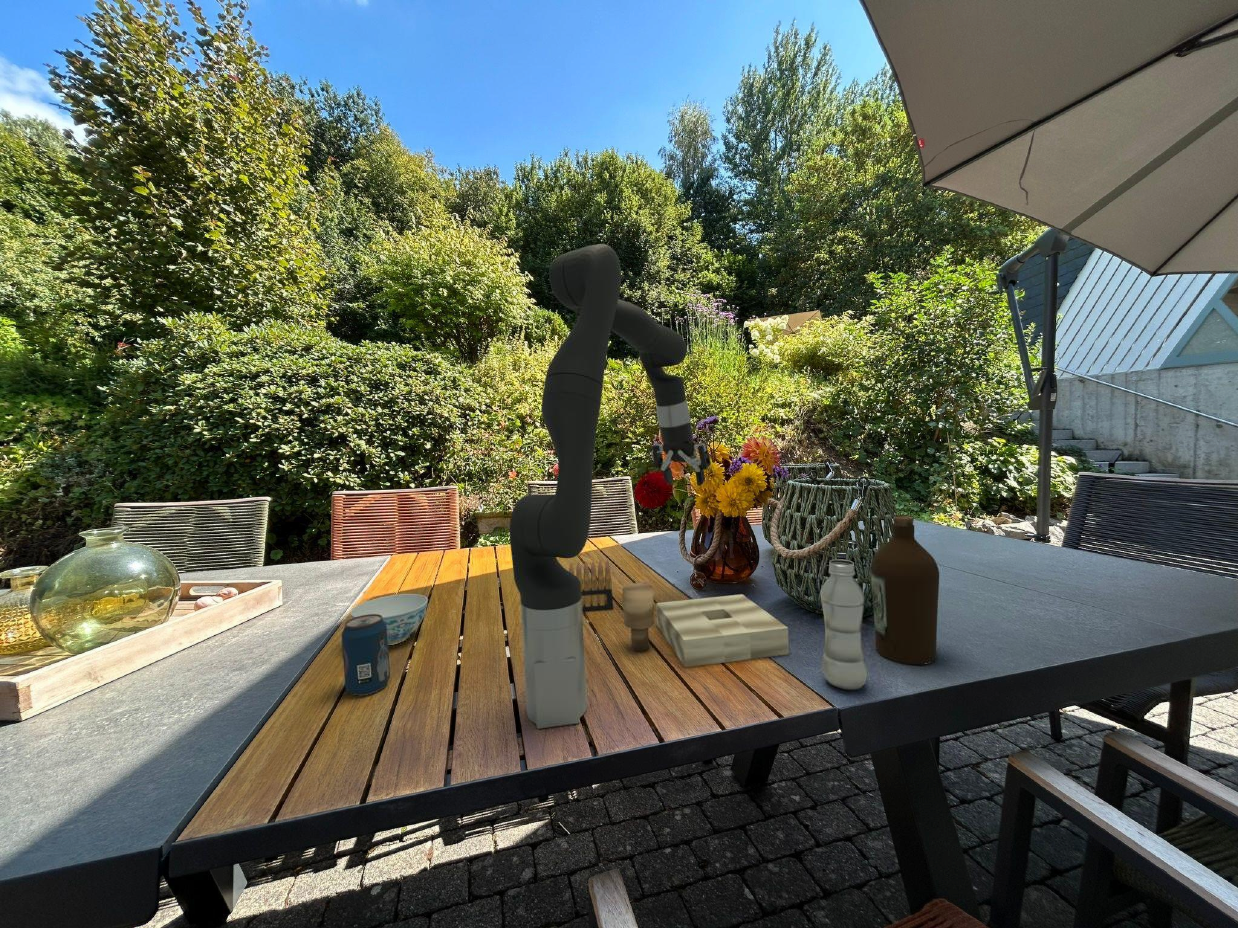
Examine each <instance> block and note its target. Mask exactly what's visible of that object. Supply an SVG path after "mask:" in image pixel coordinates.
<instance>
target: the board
mask: <svg viewBox="0 0 1238 928" xmlns="http://www.w3.org/2000/svg"><path fill="white" fill-rule="evenodd" d="M656 623H657V624H656V625H657V627H658V628H659V630H660V632H661V633H662V635H663V636H664V638H665V639H666V641H667V643H669V646H670V647H671V648H672V651H673V652H674V653H675V655H676V656H677V658H678V659H679V661H680V662H681V664H682V665H683V666H684V668H691V667H699V666H708V665H716V664H722V663H723V664H724V663H731V662H739V661H747V660H754V659H763V658H770V657H777V656H779V655H780V656H787V655H789V653H790V651H789V649H790V648H789V628H788V627H787V626H786V625H785V624H783V623H782V622H781V621H779V620H778V619H776V618H775V617H774V616H773V615H771V614H769V612H767V611H766V610H764V609H763V608H762V607H760V606H759V605H758V604H757V603H755V602H753V600H751V599H750V598H749V597H746V596H745V595H744V594H733V595H724V596H712V597H702V598H694V599H684V600H674V601H666V602H665V601H663V602H656Z"/></svg>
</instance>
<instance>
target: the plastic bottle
mask: <svg viewBox="0 0 1238 928" xmlns="http://www.w3.org/2000/svg"><path fill="white" fill-rule="evenodd" d="M828 564H829V567H828V574H830V575H829V577H828V578H827V580H826V581H825V582H824V584H823V585H822V586H821V589H820V600H821V607H822V612H823V619H824V630H825V631H824V632H825V635H824V636H825V637H824V652H823V655H822V663H821V667H822V672H823V675H824V678H825V679H826V681H827V682H828V683H829V684H830V685H832V686H833V687H836V688H838V689H842V690H851V691H853V690H854V691H855V690H860V689H861V688H863V686H864V685H865V684H866V680H867V675H868V672H867V666H866V664H867V663H866V661H865V657H864V649H863V641H862V628H863V626H862V625H863V617H864V610H865V609H864V607H865V594H864V591H863V589H862V588H861V586H860V584H859V582H857V581H856V579H855V578H854V576H856V571H855V563H854V562H853V561H851V560H848V559H847V560H846V559H831V560H829V563H828Z"/></svg>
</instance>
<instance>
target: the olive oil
mask: <svg viewBox="0 0 1238 928" xmlns="http://www.w3.org/2000/svg"><path fill="white" fill-rule="evenodd" d="M914 519H915V518H914V517H912V516H908V515H896V516H893V518H892V520H893V521H892V522H893V523H892V536H891V538H890V540H889V541H887V542H886V543H885V544H884V545H883V546H882V547H881V548H879V550H877V551H876V553H875V554H874V556H873V557H872V560H871V564H870V579H871V590H872V591H871V592H872V593H871V594H872V604H873V619H874V635H875V636H874V637H875V650H876V652H877V653H878V654H879V655H880V656H882V657H883V658H886V659H888V660H889V661H893V662H896V663H900V664H904V665H910V664H925V663H929V662H932V661H934V660H935V659H936V658H937V639H938V638H937V635H938V632H937V630H938V612H939V611H938V610H939V609H938V607H939V589H940V570H939V566H938V564H937V561H936V560H935V558H934V556H933V555H931V554H930V553H929V551H927V549H925V548H924V546H923V545H921V543H919V542H918V541H917V539H916V538H915V524H914ZM935 661H936V660H935ZM935 661H934V662H935ZM932 663H933V662H932Z"/></svg>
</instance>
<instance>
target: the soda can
mask: <svg viewBox="0 0 1238 928" xmlns="http://www.w3.org/2000/svg"><path fill="white" fill-rule="evenodd" d="M341 647H342V659H343V661H342V663H343V675H344V687H345V689H346V691H348V692H349V693H350V695H352V694H355V695H366V694H370V695H373V694H376V693H377V692H376V691H378V692H380V691H382V690H383V689H384V688H386V686H387V684H388V682H389V680H390V677H391V669H390V665H391V664H390V653H389V646H388V638H387V625H386V624H385V622H384V621H383V619H382V616H381V615H378V614H368V615H362V616H358V617H355V618H350V619H348V620H346V621H345V623H344V628H343V630H342V633H341ZM385 685H386V686H385ZM382 688H383V689H382ZM379 690H380V691H379ZM375 692H376V693H375ZM372 693H373V694H372ZM366 696H367V695H366Z"/></svg>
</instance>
